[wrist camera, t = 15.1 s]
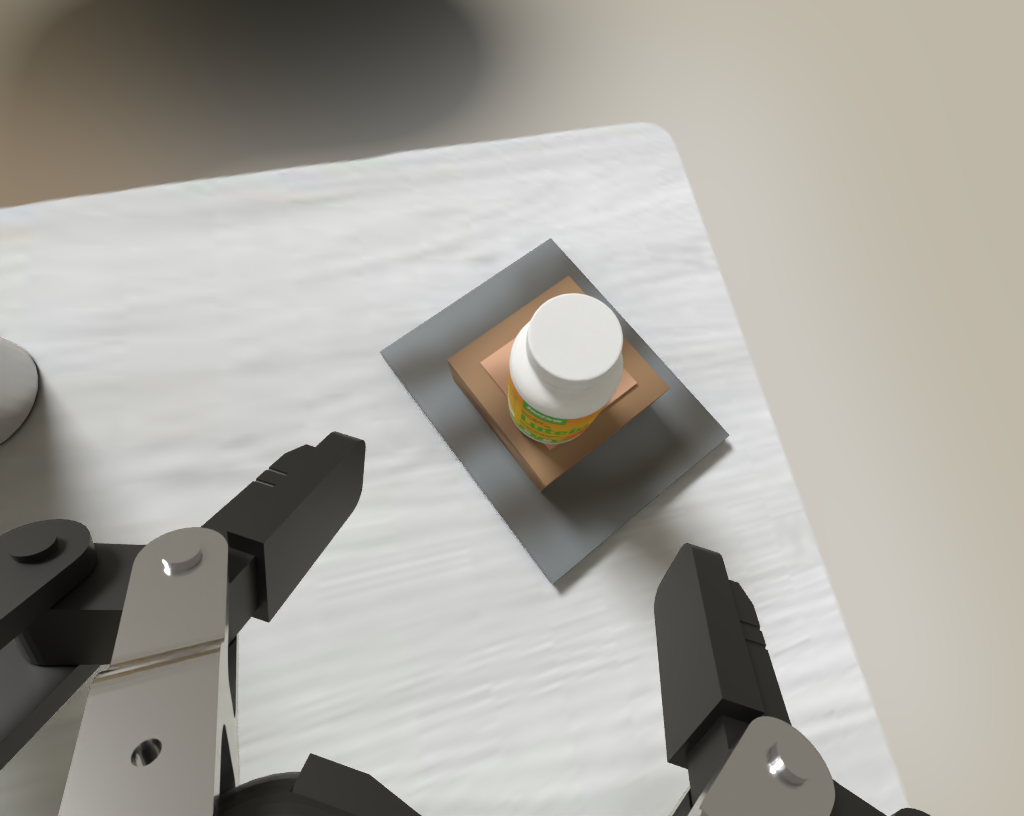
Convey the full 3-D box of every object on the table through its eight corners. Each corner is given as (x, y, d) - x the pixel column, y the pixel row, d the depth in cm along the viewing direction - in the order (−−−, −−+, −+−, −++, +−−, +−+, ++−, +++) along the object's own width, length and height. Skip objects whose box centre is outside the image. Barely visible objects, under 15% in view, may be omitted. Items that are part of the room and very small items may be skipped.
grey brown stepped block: (383, 357, 34) (362, 326, 29) (549, 245, 37) (556, 200, 32) (550, 582, 30) (560, 591, 25) (722, 438, 33) (762, 420, 28)
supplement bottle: (506, 444, 27) (508, 396, 18) (508, 360, 29) (511, 275, 19) (596, 446, 27) (644, 400, 18) (593, 362, 29) (637, 279, 20)
